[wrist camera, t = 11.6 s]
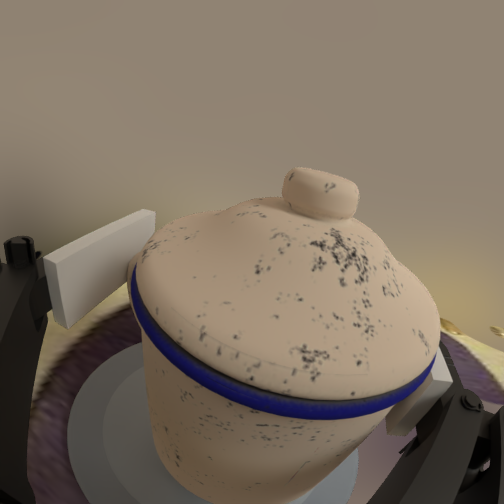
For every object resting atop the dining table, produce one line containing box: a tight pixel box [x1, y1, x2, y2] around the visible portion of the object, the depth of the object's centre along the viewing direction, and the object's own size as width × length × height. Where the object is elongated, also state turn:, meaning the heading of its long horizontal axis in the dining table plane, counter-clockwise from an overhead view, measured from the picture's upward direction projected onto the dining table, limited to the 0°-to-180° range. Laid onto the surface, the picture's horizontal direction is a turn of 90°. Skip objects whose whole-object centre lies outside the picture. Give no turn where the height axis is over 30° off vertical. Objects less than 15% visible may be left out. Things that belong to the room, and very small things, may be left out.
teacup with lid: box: [127, 167, 440, 504], centre depth 10 cm, size 12×9×12 cm
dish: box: [67, 342, 359, 504], centre depth 13 cm, size 16×16×1 cm
